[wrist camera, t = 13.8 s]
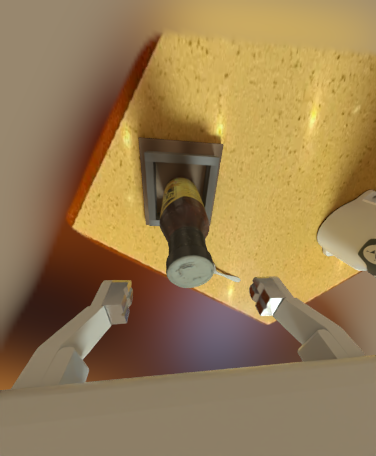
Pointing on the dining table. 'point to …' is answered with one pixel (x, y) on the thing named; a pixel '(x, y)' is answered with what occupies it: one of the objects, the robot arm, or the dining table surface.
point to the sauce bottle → (185, 234)
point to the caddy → (177, 171)
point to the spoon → (227, 275)
